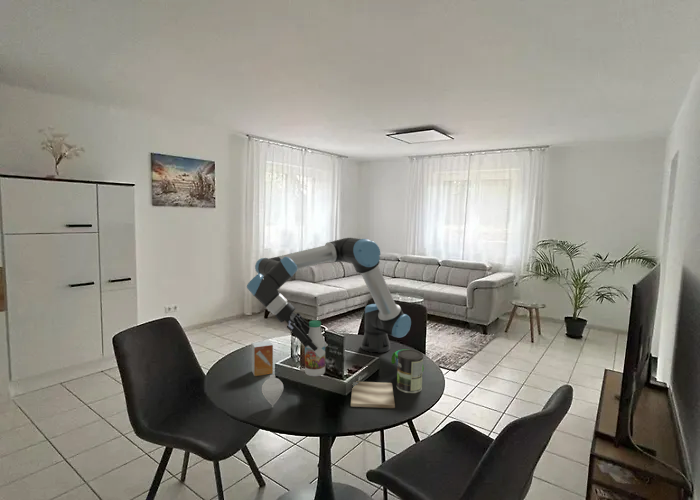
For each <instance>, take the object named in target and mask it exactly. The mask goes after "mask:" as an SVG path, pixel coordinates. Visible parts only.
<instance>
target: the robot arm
mask: <svg viewBox="0 0 700 500" xmlns="http://www.w3.org/2000/svg"><path fill="white" fill-rule="evenodd" d="M380 260H381V248H380V247H379V245H378V244H377V243H376V242H375V241H373V240H370V239H367V238H358V237H357V238H356V237H345V238H344V237H343V238H340V239H337V240H332V241H328V242H326V243H324V245H322V246H317V247H313V248H308V249H305V250H299V251H296V252H293V253H292V252H291V253H287V254H282V255H279V256H275V257H274V256H273V257H269V258H268V257H262V258H259V259H258V260H257V261H256V263H255V265H254V269H255V271H256V275H255V276H254V277H253V278H251V280H250V281H249V282H248V283H247V285H246V289H247V290H248V291H249V292H250V293H251V294H252V296H253V297H255V298H256V299H257V300H258V302H260V303H261V304H262V305H263V306H264V307H265V308H266V309H267V311H268V312H270V313H271V314H272V315H275V316H274V317H275V318H276V319H277V320H278V322H280V323H284V322H286V323H287V325H286V328H287V329H288V330H289V331H290V332H291V333H292V334H293V335H294V336H295V338H297V339H298V341H300V343H301V344H302V345H303V346H304V348H305V347H307V346H309V347H310V348H311V349H312V350H313V351H314V352H315V353H316V354H317V355H318V356H319V357H320V358H321V357H322V356H323V355H324V354H325V355H326V350H325V351H324V350H323V349H322V348H321V347H320V346H319V345H318V344H317V343H316V342H315V341H314V340H313V341H312V340H311V338H310V337H309V336H308V333H309V329H310V328H309V322H308V321H307V320H306V319H305V317H303V316H302V315H301V314H300V312H297V313H295V310H296V307H295V306H294V305H293V304H292V303H291V302H288V301H289V300H288V299H287V298H286V297H285V296H284V295H283V294H282V293H281V292H280V291H279V289H280V288H281V287H282V286H284V285H285V283H287V282H288V281H289V280H290V279H292V278H293V276H294V275H295V273H296V272H298V270H302V269H306V268H309V267H313V266H317V265H320V264H324V263H328V262H329V263H330V264H331V263H332V264H333V263H336V262H337V263H338V262H340V263H342V262H343V263H348V264H352V266H353V268H354V269H355V271H356V273H357V274H360V276H361V277H362V279H363V280H364V283H365V284H366V287H367V289H368V291H369V294H370V296H371V297H372V299H373V301H374V303H371V304H368V305H366V306H365V310H364V334H363V337H362V339H361V342H360V348H361V350H363V351H364V350H365V352H367V351H369V352H368V353H372V352H378V353H377V354H380V353H381V354H382V353H386V352H389V351H390V350H391V342H390V339H389V336H388V335H390V336H392V337H394V338H398V339H399V338H404V337H405V336H406V335H407V334H409V332H410V330H411V325H412V319H411V317H410V316H409V315H408V314H407V313H404V312H403V310H402V308H401V306H400V305H399V304H397V303H396V302H395V299H394V297H393V295H392V294H391V292H390V289H389V287H388V285H387V282H386V281H385V277H384V276H383V273H382V271H381V269H380V267H379V266H380V263H381V261H380ZM328 345H329V344H328V343H327V342H326V341H325V348H326V347H328Z"/></svg>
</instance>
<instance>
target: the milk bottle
mask: <svg viewBox="0 0 700 500" xmlns="http://www.w3.org/2000/svg"><path fill="white" fill-rule="evenodd" d="M308 323H309V328H310V329H309V333H308V334H307V335H308V336H309V337H310V338H311V340H312V341H313V340H314V341H315V342H316V343H317V344H318V345H319V346H320V347H321V348H322V349H323V350H324V351H325V352H326V347H325V342H326V341H325V338H324V335H323V333H322V331H321V330H322V329H321V328H322V322H321V320H317V319H313V320H309V322H308ZM304 373H305V375H307V376H310V377H319V376H322V375H324V374H325V373H326V353H325V354H324V355H323V356H322V357H321V358H320V357H319V356H318V355H317V354H316V353H315V352H314V351H313V350H312V349H311V348H310V347H309V346H307V347H305V346H304Z"/></svg>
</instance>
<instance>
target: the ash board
mask: <svg viewBox="0 0 700 500" xmlns="http://www.w3.org/2000/svg"><path fill="white" fill-rule="evenodd" d="M358 382H359V383H358V384H357V385H355V386H354V387H353V388H352V387H351V389H352V390H351V397H350V407H354V408H355V407H356V408H358V407H359V408H360V407H361V408H381V409H382V408H383V409H395V408H396V403H395V397H394V389H393V388H394V387H393V383H392V382H378V381H377V382H375V381H358Z"/></svg>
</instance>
